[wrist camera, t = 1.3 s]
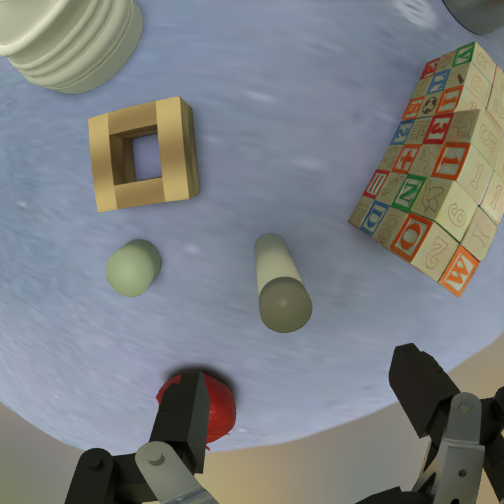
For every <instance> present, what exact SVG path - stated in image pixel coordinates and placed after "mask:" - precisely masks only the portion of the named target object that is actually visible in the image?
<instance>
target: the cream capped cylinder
mask: <svg viewBox="0 0 504 504" xmlns="http://www.w3.org/2000/svg"><path fill="white" fill-rule="evenodd" d="M254 252H255V263H256V274H257V285H258V296H259V308H260V316H261V319H262V321H263V323H264V324H265V325H266V326H267V327H268V328H269V329H271V330H273V331H276V332H280V333H288V332H293V331H296V330H298V329H300V328H301V327H303V326H304V325H305V324H306V323H307V322H308V320H309V318H310V316H311V314H312V302H311V300H310V297H309V295H308V293H307V291H306V288H305V286H304V284H303V282H302V280H301V277H300V275H299V273H298V271H297V269H296V266H295V264H294V262H293V260H292V258H291V256H290V253H289V251H288V249H287V247H286V245H285V243H284V241H283V239H282V238H281V237H279V236H278V235H276V234H265V235H263V236H261V237H260V238H259V239H258V240H257V241H256V243H255V246H254Z"/></svg>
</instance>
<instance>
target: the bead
mask: <svg viewBox="0 0 504 504" xmlns="http://www.w3.org/2000/svg"><path fill="white" fill-rule="evenodd" d="M160 268H161V257H160V254H159V252H158V250H157V249H156V247H155V246H154V245H153V244H151V243H150V242H148V241H146V240H142V239H136V240H132V241H130V242H129V243H128V244H126V245H125V246H124V247H122V248H121V249H120V250H118V251H117V252H116V253H114V254H113V255H112V256H111V257H110V258H109V259H108V261H107V264H106V277H107V280H108V282H109V284H110V285H111V287H112V288H113V289H114V290H115V291H116V292H118V293H119V294H121V295H123V296H127V297H135V296H139V295H141V294H142V293H143V292H144V291H145V290H146V289H147V287H148V286H149V285H150V283H151V282H152V281H153V279H154V278H155V276H156V275H157V274H158V272H159V270H160Z"/></svg>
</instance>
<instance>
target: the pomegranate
mask: <svg viewBox="0 0 504 504" xmlns="http://www.w3.org/2000/svg"><path fill="white" fill-rule="evenodd" d="M181 375H182V374H181ZM181 375H177V376H175V377H173V378H171V379H170V380H169V381H167V382H166V383H165V384H164V385H163V386H162V387H161V389H160V390H159V392H158V394H157V396H156V399H157V400H158V402H159V406H160V403H161V399H162V396H163V393H164V391H165V390H166V389H167V388H168V386H169V385H170V384H171V383H180V379H181ZM203 375H204V379H205V383H206V387H207V391H208V395H209V400H210V413H209V422H208V430H207V439H206V444H207V443H211V442H213V441H215V440H217V439H219V438H221V437H222V436H224V435H226V434H228V432H229V431H230V430H231V429H232V428H233V427H234V424H235V421H236V406H235V401H234V398H233V395H232V392H231V390H230V389H229V388H228V387H227V386H226V385H224V384H223V383H221V382H219V381H218V380H217V379H216V378H214V377H211V376H209V375H208V374H204V373H203ZM229 435H230V434H229ZM206 449H208V450H209V451H210V449H209V447H207V446H206Z"/></svg>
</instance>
